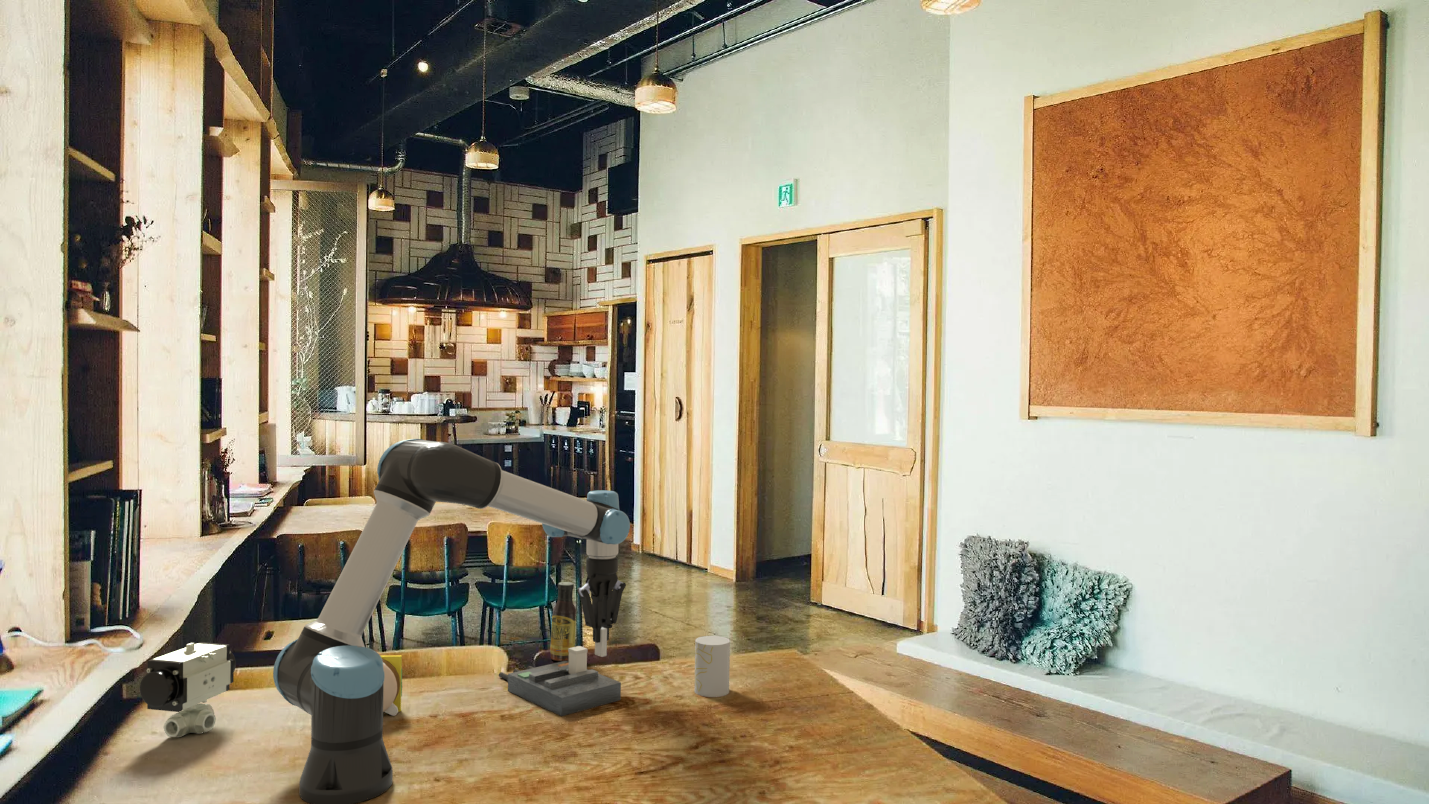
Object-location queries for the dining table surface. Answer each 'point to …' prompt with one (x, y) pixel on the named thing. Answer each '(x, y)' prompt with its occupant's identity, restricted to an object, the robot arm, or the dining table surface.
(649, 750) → the dining table surface
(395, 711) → the yellow block with disc
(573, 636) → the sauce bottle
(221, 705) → the dining table surface
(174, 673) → the ball valve
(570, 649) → the lever
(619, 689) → the grey slider base
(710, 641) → the white cylinder
